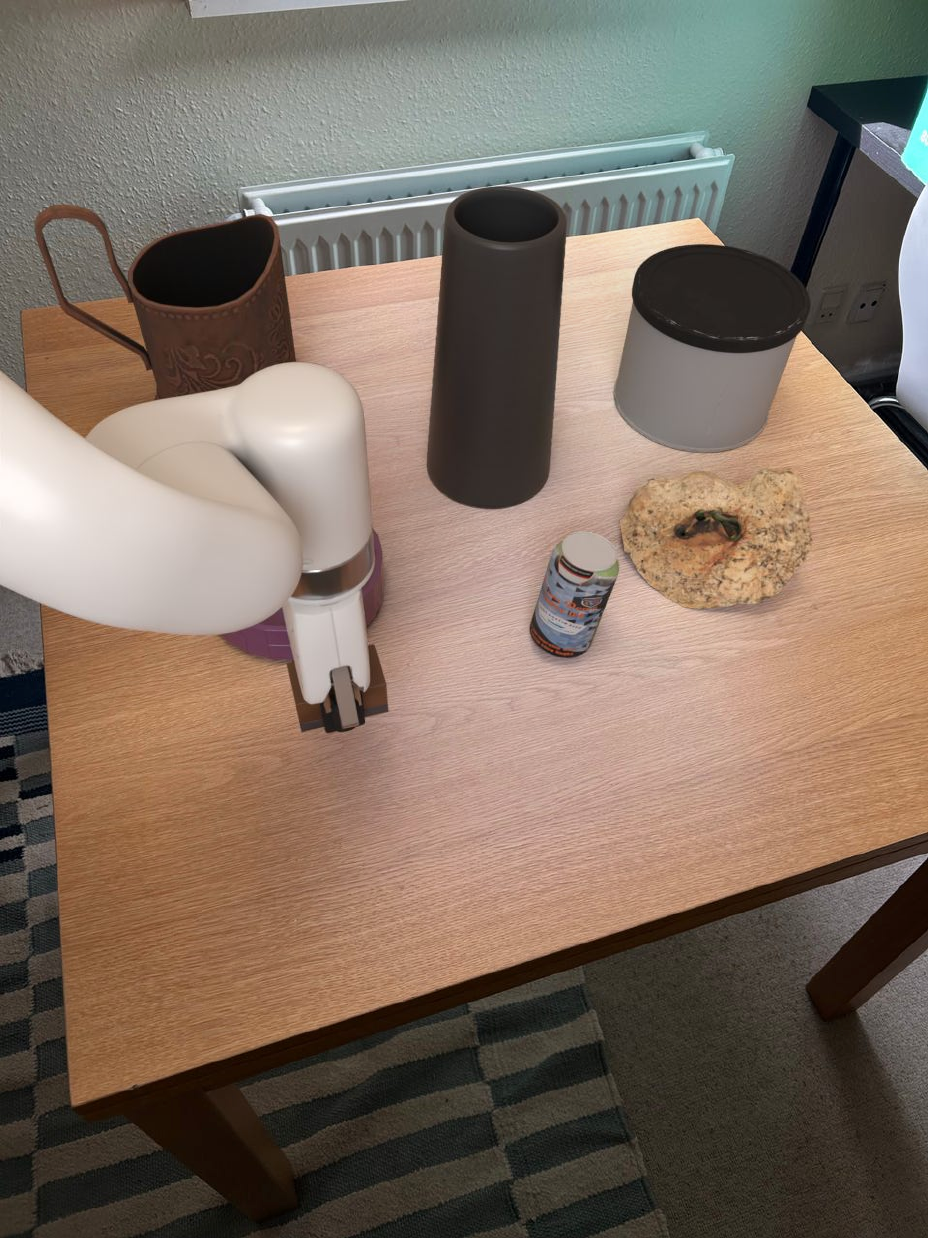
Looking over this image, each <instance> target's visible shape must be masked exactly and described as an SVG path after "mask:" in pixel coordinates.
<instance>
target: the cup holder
mask: <svg viewBox="0 0 928 1238" xmlns="http://www.w3.org/2000/svg"><path fill="white" fill-rule="evenodd" d="M60 219H62V220H63V219H71V220H72V219H73V220H80V221H83V222H87V223H88V224H90V225H91V226H93V227H94V228H96V230H97V231H98V232H99V233H100V235H101V236H102V239H103V244H104V247H105V251H106V254H107V258H108V261H109V265H110V268H111V272H112V274H113V275H114V277H115V279H116V280H117V282H118V283H119V285H120V286H121V288H122V290H123V292H124V294H125V297H126V300H127V303H128V304H132V305H133V306H134V311H135V313H136V317H137V318H136V319H137V322H138V324H139V329H140V332H141V336H142V339H143V343H144V345H142V344H140V343H139V342H137V341H136V340H134V339H133V338H131V337H129V336H127V335H126V334H124V333H122V332H120V331H119V330H117V329H115V328H114V327H112V326H110V325H108V324H107V323H105V322H104V321H101V320H100V319H98V318H96V317H95V316H93V315H91V314H90V313H88V312H86V311H85V310H82V309H81V308H79V307H78V306H76V305H74V304H73V303H71V302H70V301H69V300H68V299H67V298H66V297H65V295H64V293H63V290H62V287H61V284H60V281H59V277H58V275H57V272H56V268H55V266H54V262H53V260H52V256H51V253H50V250H49V248H48V245H47V242H46V239H45V236H44V233H43V230H44V228H45V227H46V225H48V224H49V223H50V222H51V221H53V220H60ZM33 224H34V232H35V240H36V243H37V247H38V249H39V251H40V254H41V256H42V259H43V263H44V265H45V268H46V270H47V273H48V276H49V279H50V281H51V285H52V287H53V290H54V292H55V295H56V298H57V301H58V304H59V307H60V308H61V310H62V311H63V312H64V313H65V314H66V315H67V316H69V317H71V318H72V319H73V320H76V321H78V322H80V323H81V324H82V325H84V326H86V327H88V328H90V329H91V330H94V332H97V333H99V334H101V335H102V336H104V337H105V338H107V339H109V340H111V341H113V342H114V343H116V344H117V345H120V346H122V347H124V348H125V349H127V350H129V351H130V352H132V353H134V354H136V355H138V356H139V357H140V358H141V360H142V362H143V364H144V367H145V371H152V374H153V377H154V381H155V384H156V386H155V387H156V390H155V393H156V394H155V396H154V399H153V401H155V400H160V399H166V398H172V397H178V396H185V395H191V394H196V393H202V392H208V391H214V390H218V389H223V388H227V387H232V386H236V385H239V384H241V383H242V382H243V381H244V380H246V379H247V378H248V377H249V376H251V375H253V374H254V373H256V372H258V371H260V370H262V369H264V368H267V367H270V366H273V365H276V364H281V363H289V362H297V358H296V357H297V356H296V350H295V342H294V336H293V328H292V320H291V313H290V305H289V297H288V289H287V282H286V275H285V268H284V261H283V260H284V259H283V252H282V245H281V237H280V232H279V226H278V224H277V223H276V222H275V220H274V219H273V218H272V216H269V215H265V214H264V213H263V214H262V213H257V214H253V215H247V216H243V217H239V218H236V219H233V220H228V221H224V222H218V223H213V224H207V225H202V226H196V227H190V228H186V229H185V228H184V229H181V230H176V231H173V232H170V233H167V234H165V235H162V236H159V237H157V238H156V239H154V240H153V241H151V242H150V243H148V244H147V245H146V246H143V248H142V249H141V250H140V251H139V253H137V255H136V256H135V257H134V259H133V260H132V262H131V265H130V267H129V269H128V271H127V277H126V276H125V273H123V271H122V269H121V267H120V266H119V264H118V262H117V259H116V254H115V251H114V248H113V245H112V242H111V238H110V235H109V232H108V229H107V225H106V223H105V222H104V221H103V219H102V218H101V217H100V216H99V215H98V214H97V213H95V212H94V211H93V210H91V209H89V208H87V207H84V206H80V205H75V204H73V205H72V204H54V205H48V207H46V208H45V209H43V210H41V211H39V213H38V214H37V216H36V217H35V219H34V220H33Z"/></svg>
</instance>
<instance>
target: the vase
mask: <svg viewBox="0 0 928 1238" xmlns="http://www.w3.org/2000/svg"><path fill="white" fill-rule="evenodd" d="M567 228H568V220H567V216H566V213H565V211H564V209H563V208H562V207H561V206H560V204H558V203H557V202H556V201H554V200H553V199H552V198H550V197H548V196H546V195H544V194H543V193H540V192H537V191H534V190H531V189H527V188H523V187H517V186H507V185H502V186H500V185H499V186H485V187H480V188H475V189H472V190H470V191H468V192H467V191H466V192H464V193H462V194H460V195H459V196H457V197H456V198H454V199H453V200H452V201H451V202H450V204H449V205H448V206H447V208H446V211H445V216H444V227H443V239H442V253H441V265H440V279H439V291H438V305H437V316H436V329H435V330H436V331H435V333H436V334H435V345H434V357H433V370H432V379H431V380H432V381H431V382H432V386H431V397H430V406H429V407H430V409H429V422H428V423H429V425H428V434H427V452H426V470H427V475H428V477H429V479H430V481H431V482H432V484H433V485H434V487H435V488H436V489H437V490H438V491H439V492H441V494H443V496H446V497H447V498H449V499H450V500H452V501H455V502H456V503H459V504H461V505H464V506H468V507H472V508H476V509H485V510H486V509H487V510H490V509H491V510H498V509H506V508H510V507H514V506H517V505H521V504H523V503H525V502H527V501H529V500H531V499H532V498H534V497H535V496H536V495H538V494H539V493H540V491H541V490H542V489H543V488H544V487H545V485H546V483H547V481H548V478H549V476H550V468H551V456H552V443H553V441H552V440H553V430H554V419H555V418H554V417H555V400H556V391H557V390H556V389H557V386H556V385H557V373H558V372H557V371H558V359H559V348H560V347H559V346H560V345H559V344H560V330H561V317H562V303H563V288H564V271H565V258H566V244H567Z"/></svg>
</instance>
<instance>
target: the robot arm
mask: <svg viewBox="0 0 928 1238" xmlns="http://www.w3.org/2000/svg"><path fill="white" fill-rule="evenodd" d="M364 413H365V412H364V406H363V403H362V399H361V397H360V395H359V393H358V391H357V390H356V388H355V387H354V385H353V383H351V381H350V380H348V379H347V378H346V377H345V376H344V375H343V374H341V373H339V372H338V371H336V370H335V369H332V368H330V367H328V366H325V365H321V364H318V363H313V362H305V361H296V362H289V363H281V364H276V365H273V366H270V367H267V368H264V369H262V370H260V371H258V372H256V373H254V374H253V375H251V376H249V377H248V378H247V379H246V380H244V381H243V382H242V383H241V384H239V385H236V386H232V387H227V388H223V389H218V390H214V391H208V392H202V393H196V394H191V395H185V396H178V397H172V398H166V399H160V400H155V401H154V400H150V401H146V402H142V403H138V404H135V405H132V406H129V407H126V408H123V409H121V410H119V411H116V412H114V413H112V414H111V415H108V416H107V417H105V418H104V419H102V420H101V421H99V422H98V423H97V424H96V425H94V427H93V428H92V429H91V430H90V432H88V434H87V435H86V436H85V437H83V436H82V435H81V434H79V433H78V432H76V431H75V430H73V429H72V428H71V427H69V426H68V425H67V424H66V423H65V422H63V421H62V420H60V419H59V418H58V417H57V416H56V415H54V414H53V413H52V412H50V411H49V410H48V409H47V408H46V407H44V406H43V405H42V404H41V403H40V402H38V401H37V400H36V399H35V398H34V397H32V396H31V395H30V394H29V393H27V392H26V391H25V390H24V389H23V388H22V387H21V386H19V385H18V384H17V383H16V382H14V380H12V378H10V377H9V376H8V375H6V374H5V372H3V371H2V370H0V586H1V587H4V588H6V589H8V590H10V591H13V592H15V593H17V594H19V595H21V596H24V597H25V598H28V599H30V600H33V601H34V602H37V603H39V604H41V605H44V606H46V607H48V608H50V609H53V610H56V611H59V612H62V613H64V614H67V615H70V616H72V617H76V618H79V619H81V620H84V621H88V622H91V623H95V624H98V625H104V626H108V627H114V628H118V629H124V630H130V631H131V630H132V631H139V632H150V633H158V634H159V633H160V634H168V635H181V636H196V637H197V636H202V637H203V636H218V635H219V636H220V634H225V633H231V632H236V631H239V630H242V629H246V628H249V627H251V626H253V625H255V624H258V623H260V622H262V621H264V620H265V619H267V618H268V617H270V616H271V615H273V614H274V613H275V612H277V611H278V610H279V609H280V608H281V607H282V609H283V614H284V618H285V623H286V628H287V632H288V637H289V642H290V646H291V650H292V654H293V659H294V660H293V662H294V663H295V667H296V671H297V675H298V680H299V684H300V688H301V692H302V695H303V698H304V700H305V701H306V702H308V703H309V704H317V703H320V707H321V713H322V719H323V724H324V727H323V728H324V733H326V734H333V733H336V732H337V733H347V732H350V731H353V730H354V729H356V728H357V727H358V728H359V727H362V726H364V725H365V724H366V717H365V714H364V705H363V696H362V693H361V691H360V690H363V692H365V691H366V690H367V689H368V687H369V685H370V663H369V651H368V645H369V642H368V632H367V627H366V622H365V611H364V604H363V596H362V587H363V586H364V585H365V584H366V582H367V581H368V580H369V578H370V576H371V574H372V573H373V570H374V565H375V552H374V539H373V529H374V526H373V513H372V497H371V485H370V472H369V461H368V459H369V458H368V446H367V433H366V420H365V414H364ZM332 689H334V692H335V693H334V694H329V691H330V690H332Z"/></svg>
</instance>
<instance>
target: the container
mask: <svg viewBox="0 0 928 1238" xmlns="http://www.w3.org/2000/svg"><path fill="white" fill-rule="evenodd" d="M631 299H632V304H631V307H630V308H631V309H630V314H629V318H628V324H627V329H626V333H625V339H624V344H623V348H622V353H621V357H620V358H621V359H620V363H619V367H618V368H619V369H618V374H617V377H616V380H615V383H614V386H613V400H614V406H615V407H616V410H617V411H618V413H619V415H620V416H621V418H622V419H623V420H624V421H625V422H626V423H627V424H628V425H629V426H630V427H631V428H632V429H633V430H634V431H636V432H637V433H639V434H640V435H642V436H643V437H645V438H647V439H649V440H650V441H653V442H655V443H658V444H659V445H662V446H664V447H668V448H670V449H671V448H672V449H675V450H678V451H679V450H680V451H685V452H692V453H718V452H719V453H720V452H726V451H730V450H735V449H737V448H740V447H742V446H745V445H747V444H748V443H750V442H752V441H753V440H755V439H756V438H757V437H758V436H759V435H760V434H761V433H762V432H763V430H764V428H765V427H766V425H767V422H768V420H769V415H770V410H771V407H772V405H773V402H774V399H775V396H776V393H777V391H778V388H779V386H780V383H781V380H782V377H783V374H784V372H785V370H786V367H787V364H788V361H789V358H790V355H791V353H792V351H793V348H794V345H795V342H796V339H797V337H798V335H799V334H800V333H801V332H802V330H803V329H804V327H805V325H806V322H807V320H808V317H809V315H810V312H811V298H810V294H809V292H808V290H807V288H806V286H805V285H804V284H803V283H802V281H801V280H800V279H799V278H798V276H796V275H795V274H794V273H793V272H792V271H790V270H789V269H788V268H786V267H785V266H783V265H782V264H780V263H778V262H776V261H775V260H773V259H770V258H769V257H767V256H764V255H761V254H759V253H757V252H754V251H750V250H746V249H743V248H740V247H739V248H738V247H735V246H729V245H723V244H722V245H721V244H711V243H710V244H709V243H695V244H684V245H683V244H682V245H677V246H673V247H669V248H665V249H663V250H660V251H657V252H656V253H653V254H652V255H650V256H649V257H647V258H646V259H645V260H644V261H642V263H641V264H640V265H639V266H638V267H637V269H636V272H635V273H634V277H633V282H632V287H631Z"/></svg>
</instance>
